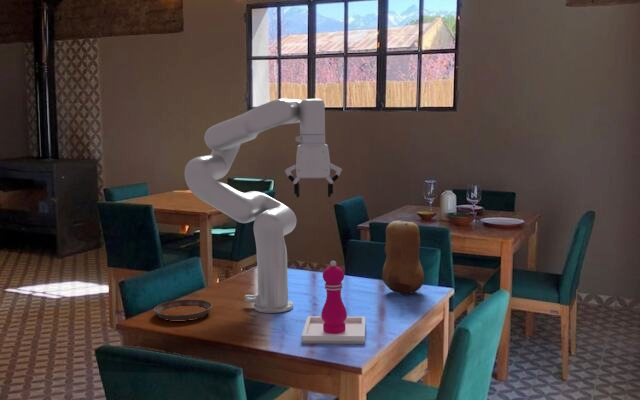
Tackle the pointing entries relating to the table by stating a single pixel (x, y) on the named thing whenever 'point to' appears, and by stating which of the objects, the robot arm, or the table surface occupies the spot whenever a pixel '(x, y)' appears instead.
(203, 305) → the plant saucer
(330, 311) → the pepper mill
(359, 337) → the tray
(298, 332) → the table surface
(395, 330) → the table surface
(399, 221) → the butternut squash
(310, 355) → the table surface
